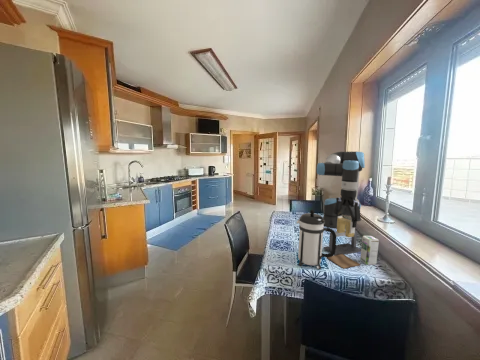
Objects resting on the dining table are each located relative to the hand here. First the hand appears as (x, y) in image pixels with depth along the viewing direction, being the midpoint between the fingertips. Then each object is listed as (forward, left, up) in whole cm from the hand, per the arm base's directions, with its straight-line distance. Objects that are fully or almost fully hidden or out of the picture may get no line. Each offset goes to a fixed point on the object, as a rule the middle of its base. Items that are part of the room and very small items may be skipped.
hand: (345, 230), depth 112 cm
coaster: (0, 0, -18) cm, 18 cm away
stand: (-11, -11, -18) cm, 24 cm away
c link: (0, 0, -2) cm, 2 cm away
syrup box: (-13, +5, -19) cm, 23 cm away
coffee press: (+18, -4, -19) cm, 26 cm away
